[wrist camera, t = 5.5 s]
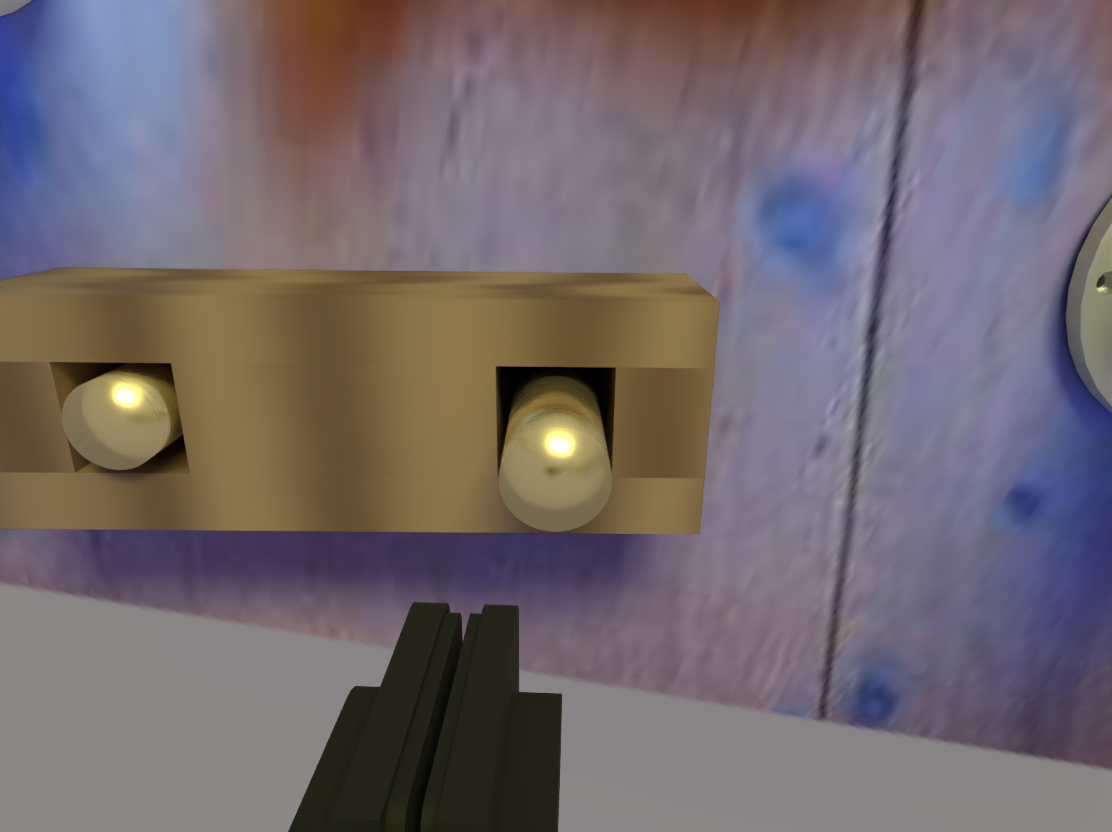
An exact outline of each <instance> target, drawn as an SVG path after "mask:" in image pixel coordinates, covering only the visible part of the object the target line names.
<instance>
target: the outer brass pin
mask: <svg viewBox="0 0 1112 832" xmlns="http://www.w3.org/2000/svg"><path fill="white" fill-rule="evenodd" d="M62 424H63V428H64V431H65V434H66V436H67V438H68V440H69V441H70V443H71V444H72V446H73V447H74V448H75V449H76V450H77V451H78V452H79V453H80V454H81V455H82V456H83V457H85V458H86V459H87V460H89V461H91V462H92V463H94V464H96V465H99V466H101V467H105V468H108V469H114V470H126V469H132V468H135V467H138V466H140V465H142V464H143V463H145V462H146V461H148V460H149V459H150V458H152V457H153V456H154V455H156V454H157V453H159V452H160V451H161V450H163V449H164V448H165V447H167V446H168V445H170V444H171V443H172V442H174V441H175V440H177V439H178V438H179V437H181V436H182V435H183V430H182V424H181V418H180V412H179V407H178V401H177V395H176V389H175V383H174V378H173V372H172V366H171V363H127V364H125V365H123V366H120V367H118V368H116V369H114V370H112V371H110V372H107V373H105V374H103V375H101V376H99V377H97V378H94V379H92V380H90V381H88V382H86V383H84V384H82V385H80V386H78V387H76V388H75V389H74V390H73V391H72V392H71V393H70V394H69V395H68V397H67V398H66V400H65V402H64V405H63V408H62Z"/></svg>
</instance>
